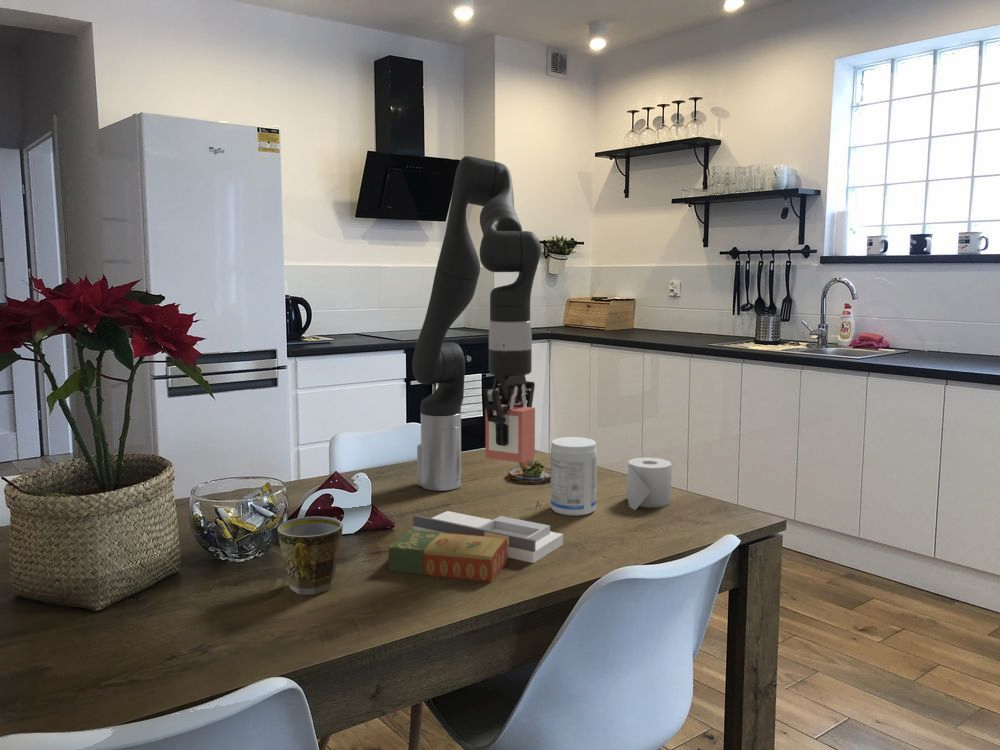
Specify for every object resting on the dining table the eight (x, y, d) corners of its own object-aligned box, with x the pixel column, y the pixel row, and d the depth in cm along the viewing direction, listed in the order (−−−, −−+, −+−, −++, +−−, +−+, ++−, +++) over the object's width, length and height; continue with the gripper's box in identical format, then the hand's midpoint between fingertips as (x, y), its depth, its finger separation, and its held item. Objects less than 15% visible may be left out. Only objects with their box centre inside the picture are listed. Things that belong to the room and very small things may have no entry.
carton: (492, 585, 130) (492, 556, 129) (387, 573, 135) (386, 545, 134) (507, 563, 139) (507, 536, 138) (408, 553, 144) (408, 526, 143)
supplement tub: (573, 500, 175) (574, 434, 173) (605, 511, 168) (607, 442, 166) (540, 509, 169) (541, 440, 167) (572, 520, 162) (573, 448, 160)
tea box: (521, 462, 139) (521, 411, 138) (485, 457, 143) (485, 407, 142) (534, 457, 143) (535, 407, 142) (499, 452, 147) (499, 404, 146)
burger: (558, 485, 188) (558, 454, 187) (507, 485, 188) (507, 453, 187) (555, 472, 200) (555, 443, 199) (507, 472, 200) (507, 442, 199)
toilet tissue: (630, 512, 167) (632, 472, 166) (625, 494, 180) (626, 456, 179) (675, 513, 167) (676, 473, 165) (666, 495, 180) (667, 457, 179)
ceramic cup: (290, 574, 133) (288, 515, 132) (350, 575, 133) (348, 516, 131) (264, 607, 120) (262, 542, 119) (331, 608, 120) (329, 543, 119)
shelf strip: (413, 536, 152) (412, 515, 151) (447, 520, 161) (447, 501, 161) (533, 563, 138) (533, 541, 138) (563, 544, 148) (563, 523, 147)
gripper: (507, 351, 133) (507, 452, 135) (548, 344, 145) (547, 437, 147) (469, 349, 137) (470, 447, 139) (512, 342, 149) (512, 433, 151)
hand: (510, 441), depth 143 cm, fingers closed on tea box, 4 cm apart
